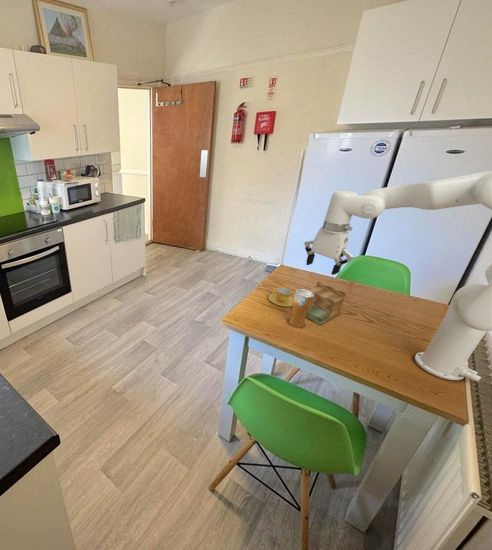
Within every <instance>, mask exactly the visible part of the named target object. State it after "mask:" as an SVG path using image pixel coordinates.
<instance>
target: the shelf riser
mask: <svg viewBox="0 0 492 550" xmlns="http://www.w3.org/2000/svg"><path fill="white" fill-rule="evenodd" d="M307 290H309V291H311V292H313V293H314V298H313V303H312V306H311V308H310V310H309V312H308V314H307V315H306V318H305V319H308V320H310V321H312V322H313V323H315V324H318V325H320V326H321V325H322V324H324V323H325V322H327V321H329V320H331V319H333V318H334V317H336V316H338V315H339V314H340V312H341V309H342V307H343V304H344V302H345V298H346V295H347V294H348V292H347V291H344V290H341V289H339V288H336V287H334V286H331V285H328V284H326V283H323V282H321V281H317V282H316V285H315V286H313V287H310V288H308V289H307Z"/></svg>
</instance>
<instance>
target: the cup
mask: <svg viewBox="0 0 492 550" xmlns="http://www.w3.org/2000/svg"><path fill="white" fill-rule="evenodd" d="M292 292H293V291H292V290H291V289H290V288H287V287H282V286H280V287H277V288H276V290H273V291H271V294H268V296H267V298H268V301H270V302H271V303H272V304H274V305H276V306H280V307H292V302H293V298H294V297H293V296H291V295H292Z"/></svg>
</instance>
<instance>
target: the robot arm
mask: <svg viewBox="0 0 492 550" xmlns="http://www.w3.org/2000/svg"><path fill="white" fill-rule="evenodd" d="M473 205H482V206H483V207H485V208H487V209H489V210H491V211H492V170H487V171H486V170H485V171H481V172H475V173H470V174H465V175H459V176H452V177H448V178H442V179H441V178H440V179H436V180H435V179H434V180H429V181H421V182H415V183H406V184H398V185H393V186H387V187H382V188H381V187H380V188H376V189H375V188H374V189H371V190H368V191H366V192H364V193H362V194H360V195H359V193H358V192H356V191H352V190H344V189H343V190H336V191H334V192H333V193H332V194H331V197H330V200H329V204H328V207H327V210H326V214H325V217H324V219H323V223H322V226H320V228H319V229H318V231H317V233H316V235H315V237H314V239H313V240H308V241H305V242H304V243H303V244H304V250H305V251H306V255H307V257H306V260H305V261H306V264H305V265H306V266H310V265H312V264H314V259H315V257H316V254H317V255H320V256H322V257H325V258H328V259H332V260H334V262H335V264H334V265H333V267H332V270H331V275H332V276H334V275H337V274H339V273H340V271H341V268H342V266H343V265H344V264H347V263H349V262H350V261H351V260H353V259H354V258H355V257H354V256H353V254H351V252H349V250H347V248H348V244H349V238H350V232H351V231H352V230H353V227H352V226H351V224H350V223H351V220H352V217H353V216H355V217H358V218H360V219H361V218H362V219H369V220H370V219H375V218H377V217H379V216H381V215H382V214H383V213H384V211H385V210H391V209H399V208H400V209H401V208H414V209H420V210H427V211H434V210H444V209H449V208H457V207H465V206H473ZM344 256H345V257H346V258H345V259H343V257H344ZM484 275H485V279H486V281H487V284H483V283H471V284H467V285H464V286H462V287H461V288H459V289H458V290H456V291H455V293H454V294H453V296H452V298H451V300H450V303H449V306H448V307H447V310H446V312H445V315H444V317H443V318H442V320H441V322H440V324H439V325H438V327H437V329H436V331H435V332H434V335H433V336H432V338H431V339H430V342H429V343H428V345H427V347H426V348H425V350H424V351H419V352H417V353H416V354H415V356H414V361H415V363H416V364H417V365H418V366H419V368H421V369H423V370H424V371H426V372H427V373H429V374H431V375H434V376H436V377H438V378H442V379H445V380H448V381H449V380H450V381H462V380H463V379H465V377H466V378H467V379H470V380H472V381H475V382H476V383H479V381H480V380H481V379H482V376H480V375H478V373H479V372H478V371H477V370H474V369H471V368H469V367H468V366H467V365H468V364H469V362H468V360H469V358H470V357H471V355H472V354H473V352H475V350H476V348H477V346H478V345H479V343H480V342H481V341H482V339H483V338H484V336H485V335H486V333H487V332H492V263H491V264H489V266H487V267H486V269H485V273H484Z"/></svg>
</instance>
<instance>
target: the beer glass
mask: <svg viewBox="0 0 492 550" xmlns="http://www.w3.org/2000/svg"><path fill="white" fill-rule="evenodd" d="M292 298H293V302H292V306H291V314H290V317H289V319H288V323H289V325H291V326H293V327H295V328H303V327H304V326H305V324H306V319H307V318H306V315H307V314H308V312H309V310H310V308H311V306H312V303H313V298H314V293H313V292H311V291H309V290H308V289H306V288H305V289H304V288H299V289H296V290H295V292H294V295H293V297H292Z"/></svg>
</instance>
